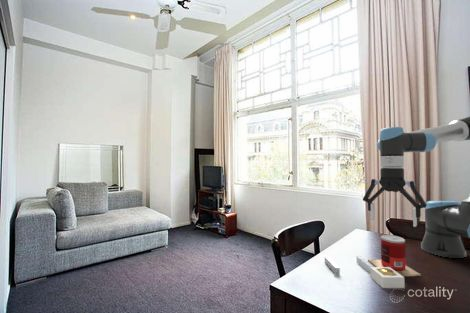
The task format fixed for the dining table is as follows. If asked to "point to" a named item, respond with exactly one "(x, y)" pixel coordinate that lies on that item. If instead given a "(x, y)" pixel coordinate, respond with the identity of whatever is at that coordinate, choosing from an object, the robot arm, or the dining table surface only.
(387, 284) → the plunger block
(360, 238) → the dining table surface
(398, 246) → the canned food
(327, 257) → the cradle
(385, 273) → the plunger
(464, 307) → the dining table surface
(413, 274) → the mat
